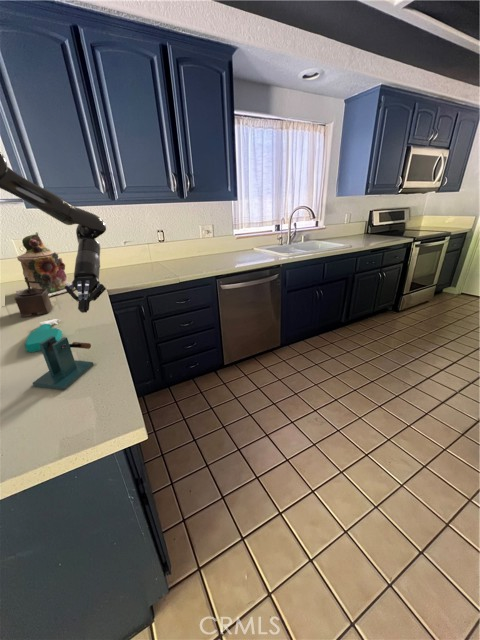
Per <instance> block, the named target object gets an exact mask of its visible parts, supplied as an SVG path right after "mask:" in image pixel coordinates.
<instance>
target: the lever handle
mask: <svg viewBox="0 0 480 640" xmlns="http://www.w3.org/2000/svg"><path fill="white" fill-rule="evenodd" d="M54 343H56V342H48V348H47V350H51V351H54V349H53V346H52V345H53V344H54ZM69 345H70V348H71V349H85V350H86V349H87V350H90V349H91V347H92V344H91V343H90V342H80V341H73V342H72V343H69Z"/></svg>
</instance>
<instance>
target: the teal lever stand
mask: <svg viewBox="0 0 480 640" xmlns="http://www.w3.org/2000/svg"><path fill="white" fill-rule="evenodd" d="M48 342H56V343H54V344H53V345H52V346H53V349H54V351H51V350H47V348H48ZM69 344H70V342H69V340H68V337H66V336H64V337H63V338H62V337H61V340H59V341H56V339H55V336H51V337H50V338H48V339H46V340H45V341H43V342H41V343H40V344H39V345H40V348H41V350H40V351H41V353H42V356H43V358H44V360H45V363H46V366H47V369H48V371H47V372H45V373H43V375H41V376H40V377H38V378H37V379H35V380H34V381H32V386H33V387H36V388H37V387H38V388H46V389H54V390H55V389H56V390H64V391H65V390H67V389H68V388H69V387H70V386H72V385H73V384H74V383H75V382H76V381H77V380H78V379H79V378H81V377H82V376H83V375H84V374H85V373H86V372H87V371H88V370H90V369H91V368H92V367H94V362H93V361H89V360H88V361H87V360H76V359H75V358H74V355H73V352H72V347H71V348H70V345H69Z"/></svg>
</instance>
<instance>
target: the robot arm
mask: <svg viewBox="0 0 480 640" xmlns="http://www.w3.org/2000/svg"><path fill="white" fill-rule="evenodd" d="M0 189H1V190H3V191H6V193H7V192H8V193H9V194H11V195H14V196H15V197H17V198H18V199H21V200H22V201H24V202H26V203H28V204H30V205H31V206H34V208H36V209H37V210H39V211H41V212H43V213H45V214H47V215H48V216H50V217H51V218H53V219H55V220H56V221H58V222H60V223H62V224H64V225H66V226H72V225H77V226H76V229H75V234H76V240H77V243H78V245H77V252H76V253H77V254H76V257H75V263H74V271H73V280H72V282H71V283H72V284H71V285H70V286H65V287H64V288H65V289H66V290H67V292H66V293H68V294H69V295H70V296H71V298H72V299H73V300H74V301H75V302H77V303H78V304H77V310H78V311H79V312H80V313H82V314H86V313H88V311H89V310H90V304H91V302H95V301H96V300H98V298H99V297H100V296H101V295H102V294H103V293H104V292H105V291H106V290H107V288H106V287H105V285H104V284H103V283H101V282H100V269H101V244H100V242H99V241H98V240H97V238H99V237H101V236H102V235H103V234H105V233H106V231H107V225H106V223H105V221H104V220H103V219H102V218H101V217H100V216H98V215H96V214H95V213H92V212H89V211H87V210H84V209H82V208H79V207H77V206H74V205H73V204H71V203H70V202H68V201H67V200H65V199H63V198H62V197H60V196H58V195H57V194H55V193H53V192H52V191H50V190H47V189H45V188H44V187H42V186H40V185H37V184H35V182H32V181H30V180H28V179H27V178H25V177H23V176H21V174H18V173H17V172H15V171H14V170H13V169H12V168H10V167H9V166H8V163H7V159H6V158H5V155H4V154H3V153H2V152H1V151H0ZM74 287H75V288H76V289H74ZM75 290H76V291H77V294H76V293H75Z"/></svg>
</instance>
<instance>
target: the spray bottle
mask: <svg viewBox="0 0 480 640" xmlns="http://www.w3.org/2000/svg"><path fill="white" fill-rule="evenodd" d="M59 322H61V318H57V319H56V318H54V319H49V320H44V321H40V322H38V324H39V326H38V327H36V328H35V329H34V330H32V331H31V332H30V333H29V334H28V336H27V337H26V339H25V343H24V350H26V352H29V353H34V352H39V351H42V350H41V348H40V345H39V344H40V343H41V342H43V341H45V340H46V339H48V338H50V337H51V336H55V339H56V341H59V340H61V339H62V336H63V331H62V330H61V329H59V328H57V327H52V326H53V325H59Z"/></svg>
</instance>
